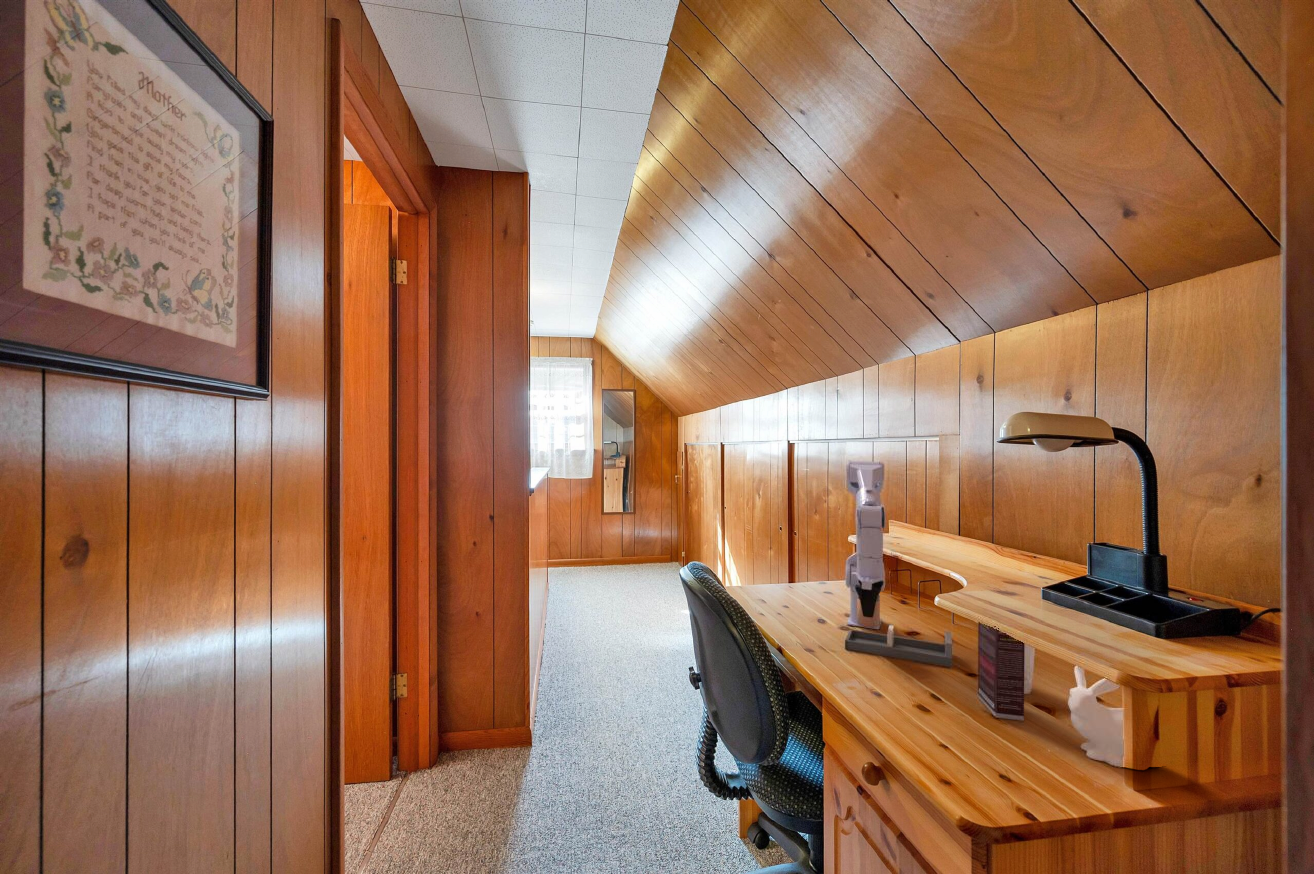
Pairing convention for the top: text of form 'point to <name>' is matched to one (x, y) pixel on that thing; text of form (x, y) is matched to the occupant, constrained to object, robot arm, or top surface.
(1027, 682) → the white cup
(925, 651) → the tray
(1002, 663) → the supplement box
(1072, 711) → the rabbit
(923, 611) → the top surface
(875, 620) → the jar
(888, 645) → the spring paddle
